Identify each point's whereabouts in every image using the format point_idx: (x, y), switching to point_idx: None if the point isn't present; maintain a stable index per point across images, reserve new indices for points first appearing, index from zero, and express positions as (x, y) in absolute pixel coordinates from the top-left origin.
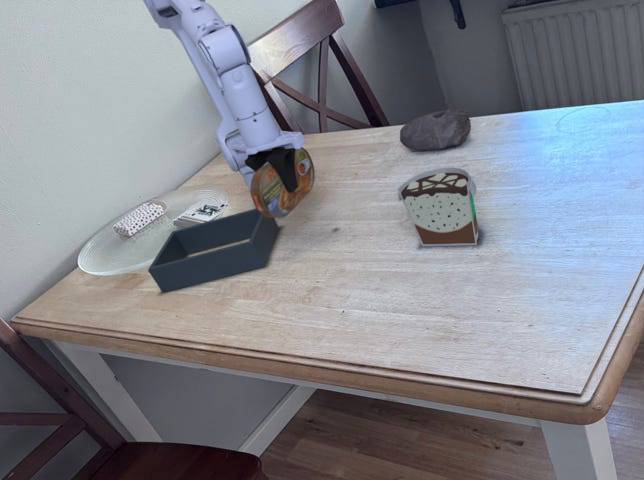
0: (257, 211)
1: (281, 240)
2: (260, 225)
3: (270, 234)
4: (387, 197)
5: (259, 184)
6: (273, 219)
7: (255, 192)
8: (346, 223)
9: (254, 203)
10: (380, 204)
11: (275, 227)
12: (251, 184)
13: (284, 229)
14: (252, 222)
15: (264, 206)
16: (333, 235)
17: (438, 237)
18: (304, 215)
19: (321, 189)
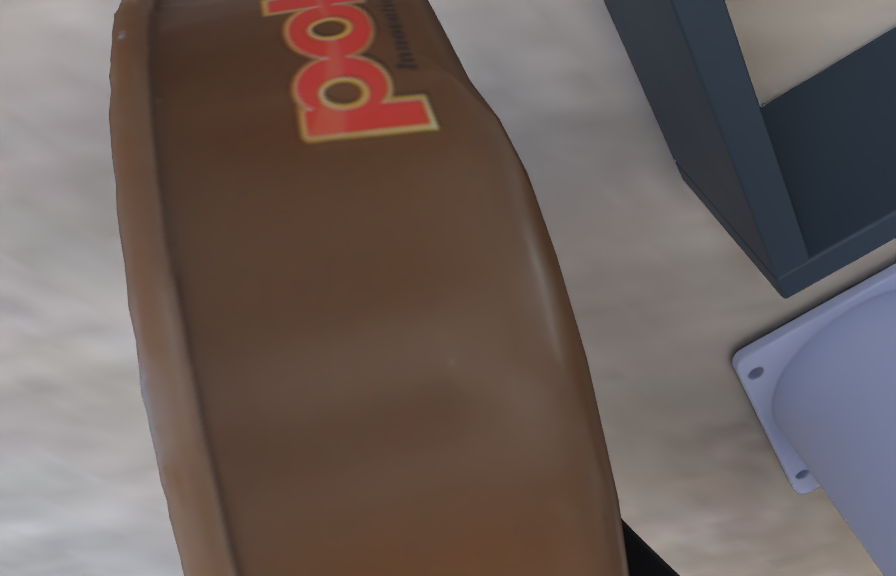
0: (861, 216)
1: (556, 55)
2: (675, 27)
3: (642, 52)
4: (66, 570)
5: (239, 456)
6: (717, 209)
7: (336, 217)
8: (110, 338)
9: (403, 3)
10: (43, 523)
11: (682, 157)
12: (547, 399)
13: (628, 177)
14: (891, 126)
15: (120, 5)
16: (74, 207)
17: None
18: None
19: (624, 509)
